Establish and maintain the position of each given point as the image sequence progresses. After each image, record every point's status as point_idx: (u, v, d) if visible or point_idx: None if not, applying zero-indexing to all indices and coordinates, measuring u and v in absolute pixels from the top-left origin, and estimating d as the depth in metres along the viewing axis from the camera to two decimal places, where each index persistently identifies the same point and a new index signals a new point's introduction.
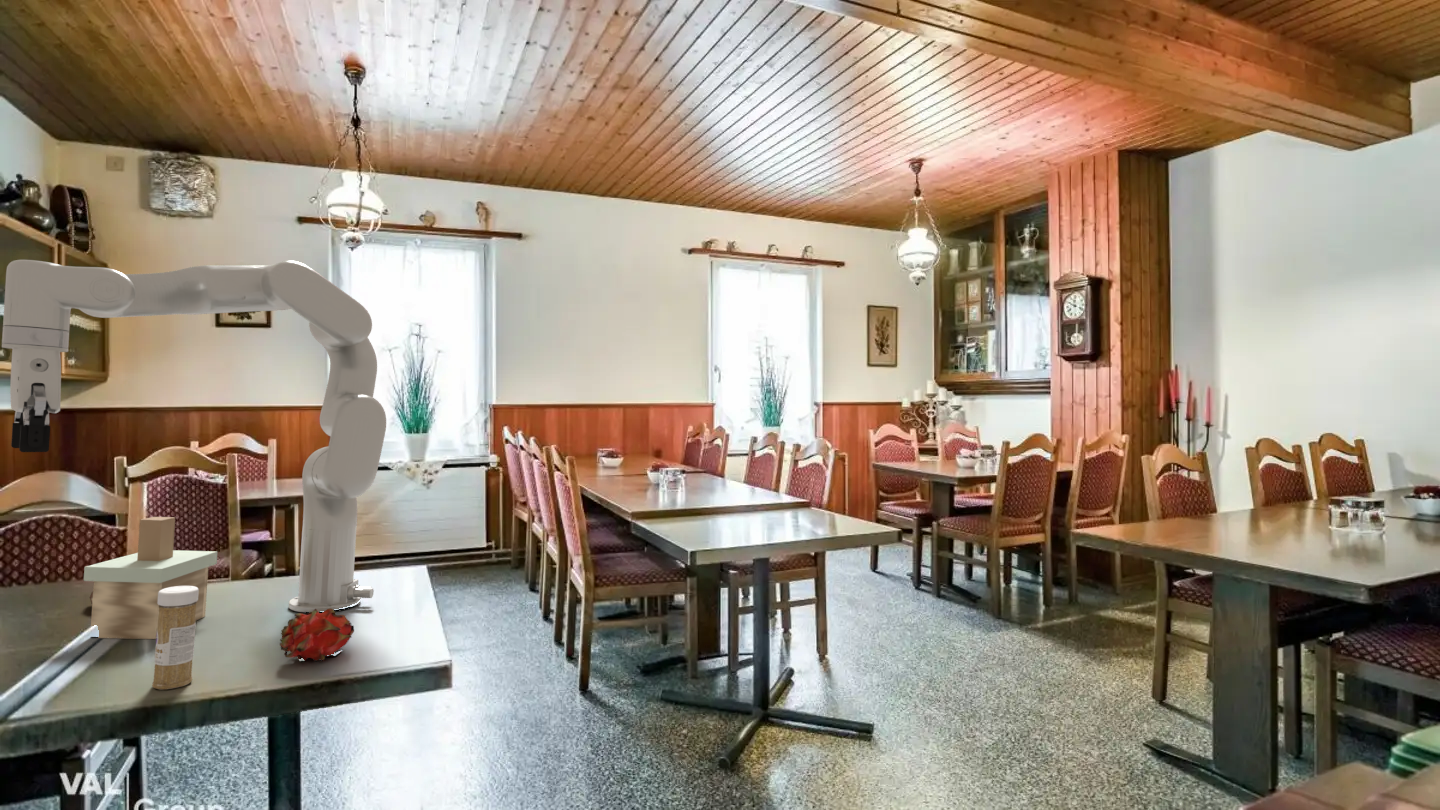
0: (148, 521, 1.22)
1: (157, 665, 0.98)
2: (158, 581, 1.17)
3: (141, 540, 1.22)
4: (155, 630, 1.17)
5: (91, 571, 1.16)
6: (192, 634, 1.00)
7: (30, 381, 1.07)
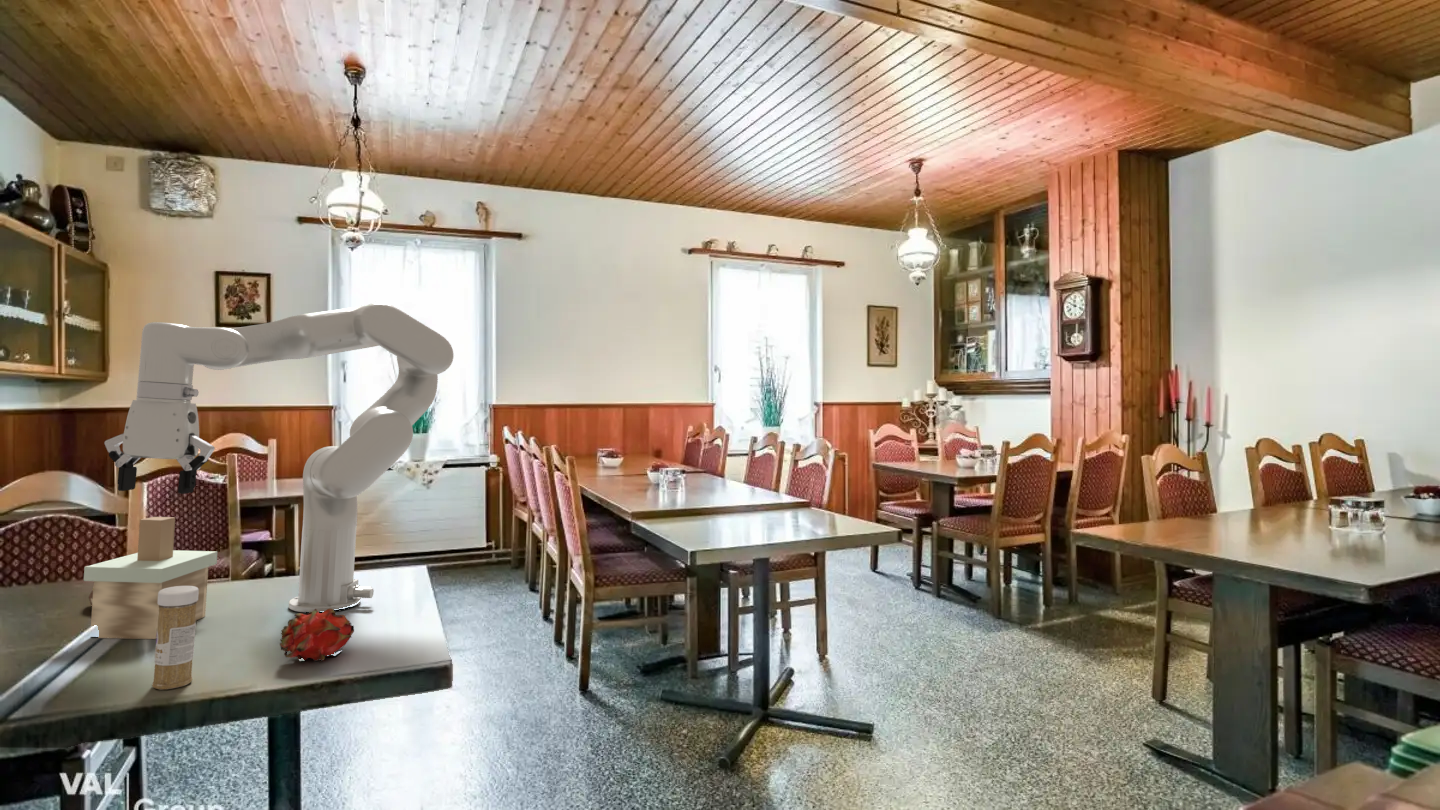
0: (148, 521, 1.22)
1: (157, 665, 0.98)
2: (158, 581, 1.17)
3: (141, 540, 1.22)
4: (155, 630, 1.17)
5: (91, 571, 1.16)
6: (192, 634, 1.00)
7: (188, 432, 1.24)
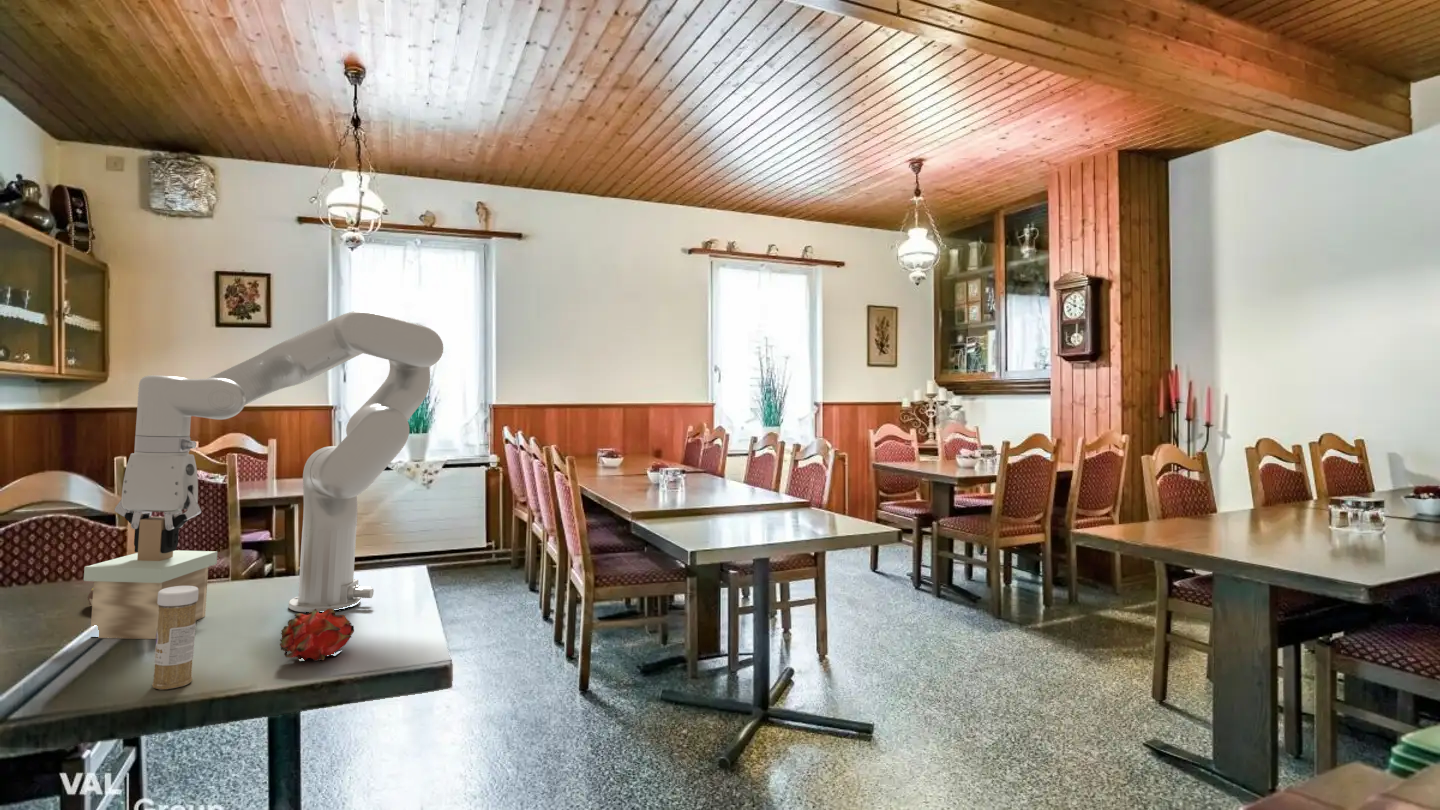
0: (148, 521, 1.22)
1: (157, 665, 0.98)
2: (158, 581, 1.17)
3: (141, 540, 1.22)
4: (155, 630, 1.17)
5: (91, 571, 1.16)
6: (192, 634, 1.00)
7: (187, 484, 1.24)
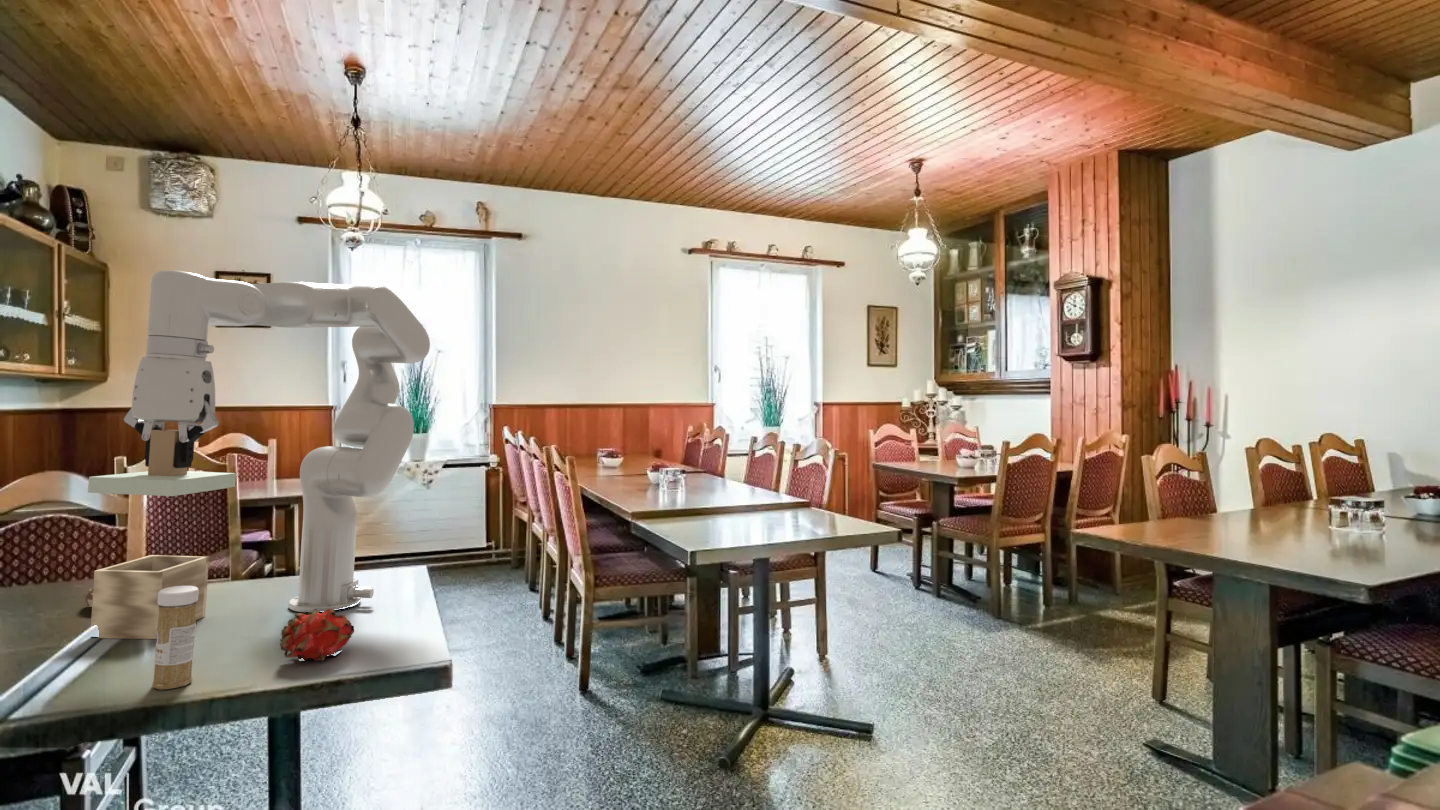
0: (160, 432, 1.10)
1: (157, 665, 0.98)
2: (170, 494, 1.04)
3: (153, 452, 1.10)
4: (155, 630, 1.17)
5: (96, 482, 1.03)
6: (192, 634, 1.00)
7: (203, 392, 1.11)
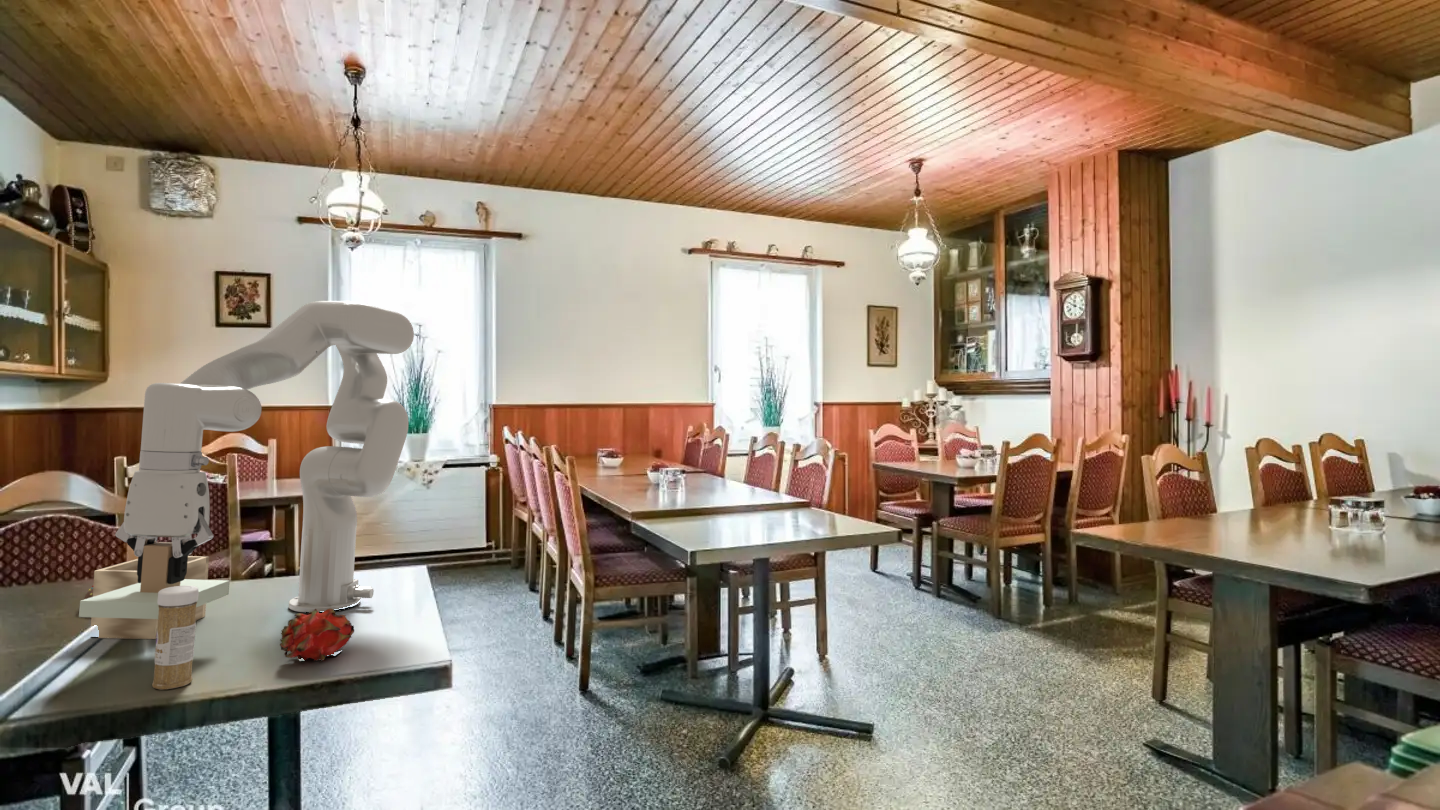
0: (153, 548, 1.08)
1: (157, 665, 0.98)
2: None
3: (145, 569, 1.08)
4: (155, 630, 1.17)
5: (88, 606, 1.01)
6: (192, 634, 1.00)
7: (197, 506, 1.09)
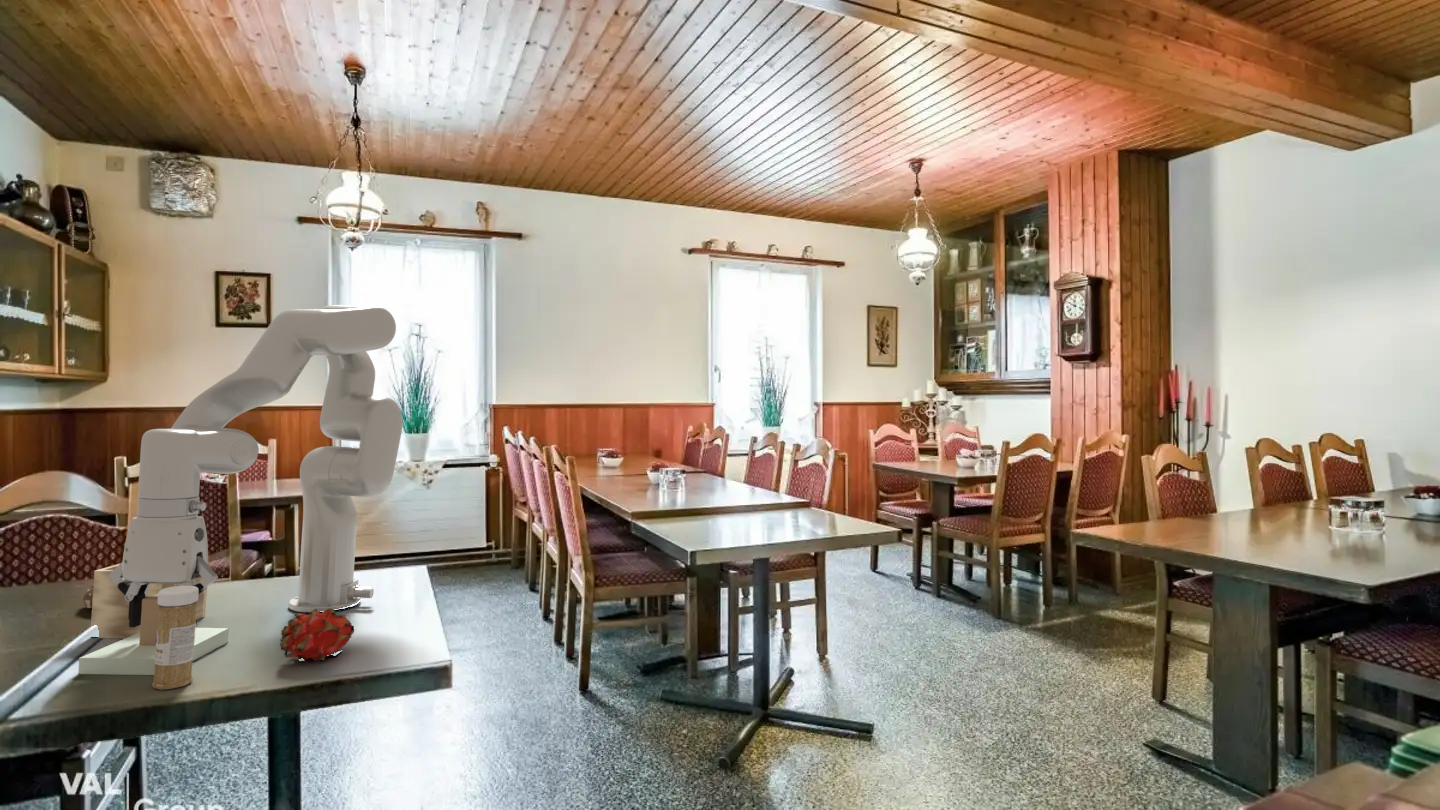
0: (151, 601, 1.08)
1: (157, 665, 0.98)
2: None
3: (144, 622, 1.08)
4: None
5: (87, 663, 1.02)
6: (192, 634, 1.00)
7: (195, 552, 1.09)
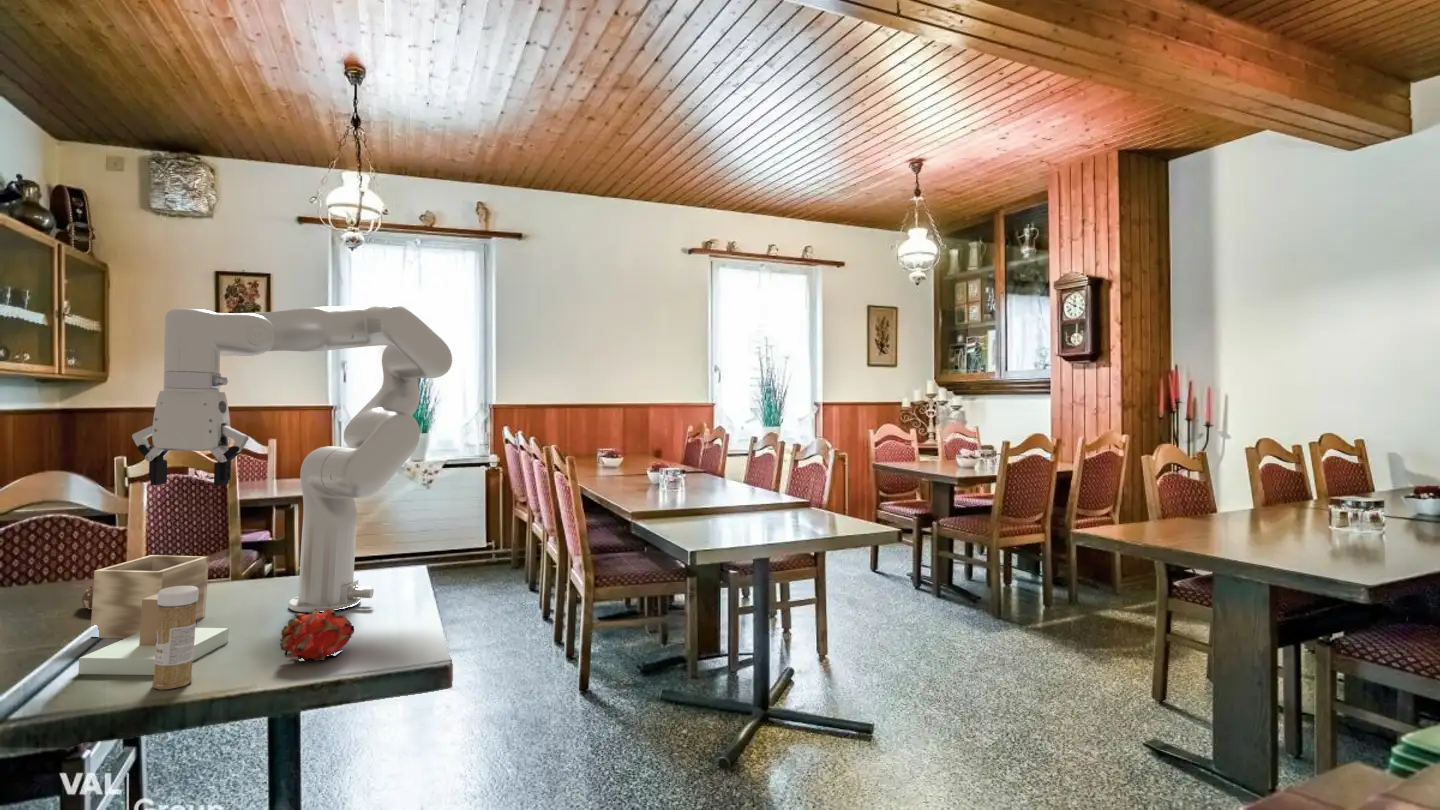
0: (151, 601, 1.08)
1: (157, 665, 0.98)
2: None
3: (144, 622, 1.08)
4: None
5: (87, 663, 1.02)
6: (192, 634, 1.00)
7: (220, 422, 1.19)
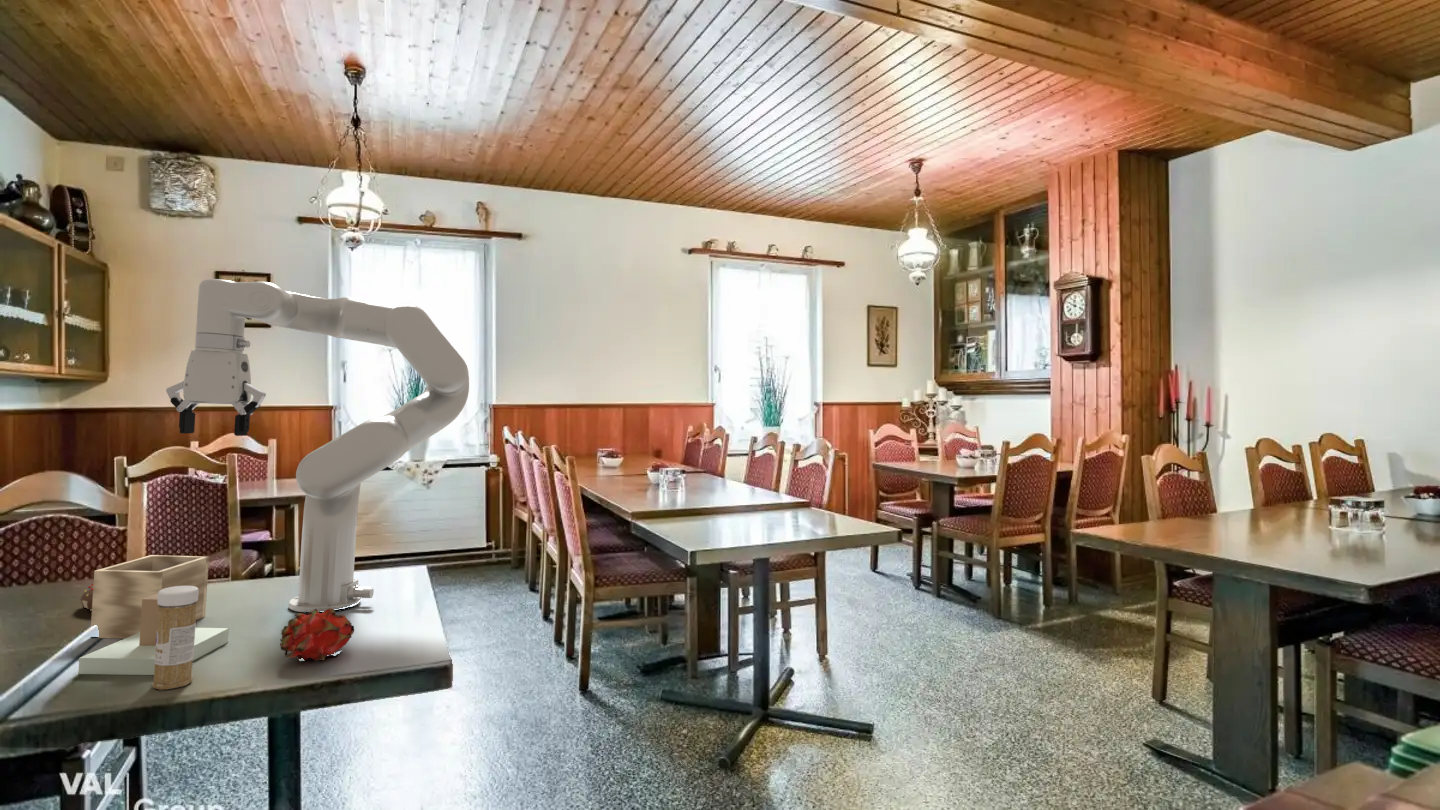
0: (151, 601, 1.08)
1: (157, 665, 0.98)
2: None
3: (144, 622, 1.08)
4: None
5: (87, 663, 1.02)
6: (192, 634, 1.00)
7: (242, 379, 1.35)
